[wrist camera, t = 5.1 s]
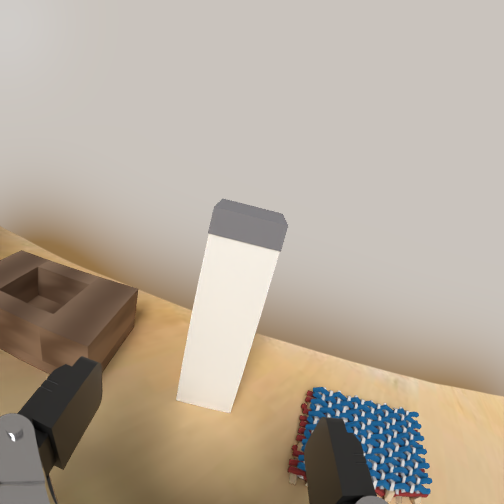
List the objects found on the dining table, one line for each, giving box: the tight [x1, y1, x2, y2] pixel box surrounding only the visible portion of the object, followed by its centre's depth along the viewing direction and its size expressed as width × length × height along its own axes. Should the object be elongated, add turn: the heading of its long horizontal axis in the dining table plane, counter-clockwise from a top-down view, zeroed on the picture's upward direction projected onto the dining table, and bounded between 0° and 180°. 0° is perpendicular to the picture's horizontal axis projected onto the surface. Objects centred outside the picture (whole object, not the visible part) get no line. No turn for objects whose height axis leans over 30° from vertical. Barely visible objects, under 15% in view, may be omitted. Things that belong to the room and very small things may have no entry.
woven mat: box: [288, 387, 432, 504], centre depth 20 cm, size 10×11×2 cm
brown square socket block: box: [0, 250, 138, 374], centre depth 23 cm, size 14×10×4 cm
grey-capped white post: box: [176, 199, 288, 413], centre depth 21 cm, size 4×4×14 cm
